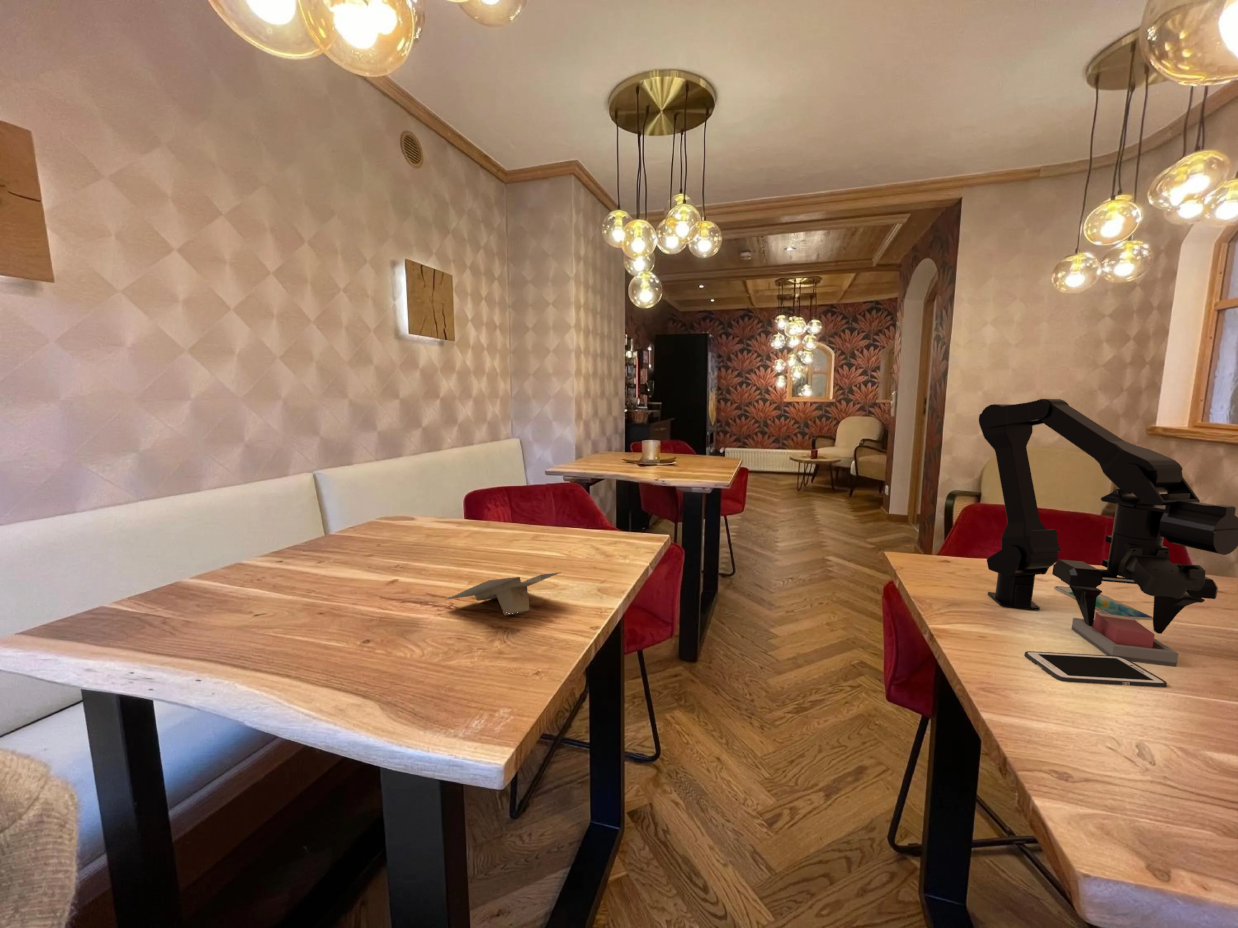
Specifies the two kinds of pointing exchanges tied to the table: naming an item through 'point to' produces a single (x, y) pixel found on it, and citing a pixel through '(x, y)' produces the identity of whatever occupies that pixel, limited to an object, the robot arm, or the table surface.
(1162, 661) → the pocket tray
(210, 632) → the table surface
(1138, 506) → the robot arm
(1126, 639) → the card box
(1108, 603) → the smartphone
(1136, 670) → the cell phone
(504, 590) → the grey winged bracket
